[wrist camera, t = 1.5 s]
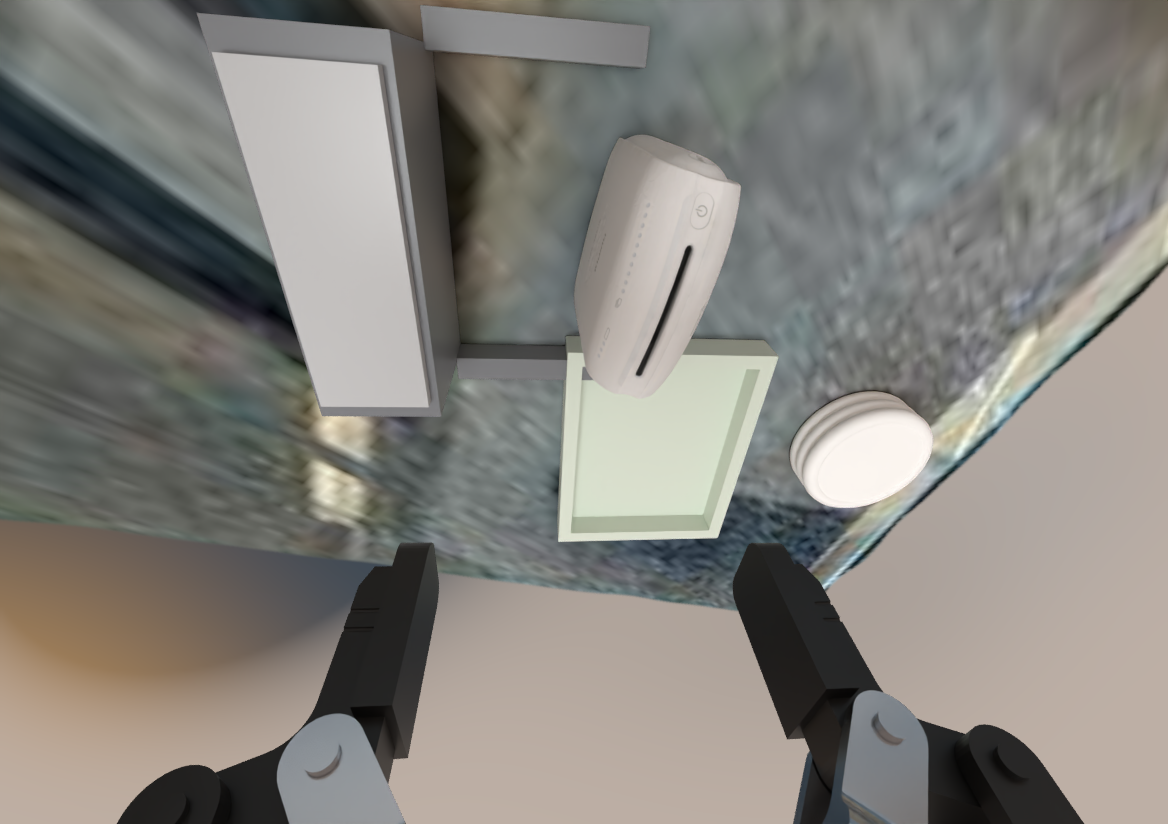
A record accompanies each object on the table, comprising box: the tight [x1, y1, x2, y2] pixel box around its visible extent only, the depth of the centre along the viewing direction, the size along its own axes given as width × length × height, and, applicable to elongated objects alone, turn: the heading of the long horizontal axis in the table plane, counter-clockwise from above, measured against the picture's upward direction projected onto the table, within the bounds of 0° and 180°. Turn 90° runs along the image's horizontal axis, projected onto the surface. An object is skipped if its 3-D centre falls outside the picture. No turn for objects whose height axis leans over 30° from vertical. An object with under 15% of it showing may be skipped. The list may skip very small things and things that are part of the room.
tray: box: [557, 336, 779, 542], centre depth 36 cm, size 18×14×2 cm
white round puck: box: [790, 391, 933, 508], centre depth 38 cm, size 10×10×4 cm
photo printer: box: [574, 135, 741, 399], centre depth 23 cm, size 10×4×12 cm, turn 164°
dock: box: [197, 5, 650, 417], centre depth 24 cm, size 18×16×9 cm
